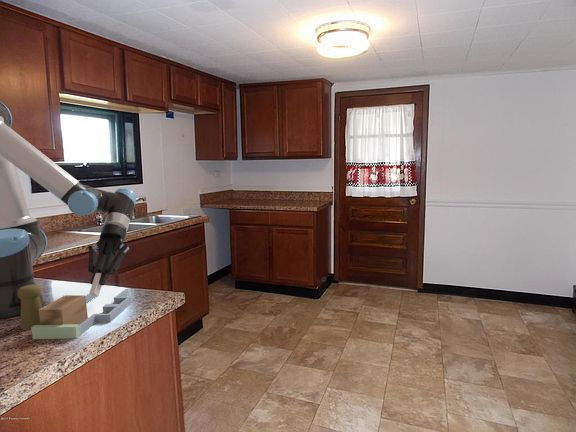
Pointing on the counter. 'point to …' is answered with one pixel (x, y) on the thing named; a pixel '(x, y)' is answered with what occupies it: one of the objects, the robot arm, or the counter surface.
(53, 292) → the counter surface
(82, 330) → the trap lane
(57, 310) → the walnut block
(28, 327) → the cork
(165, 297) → the counter surface
